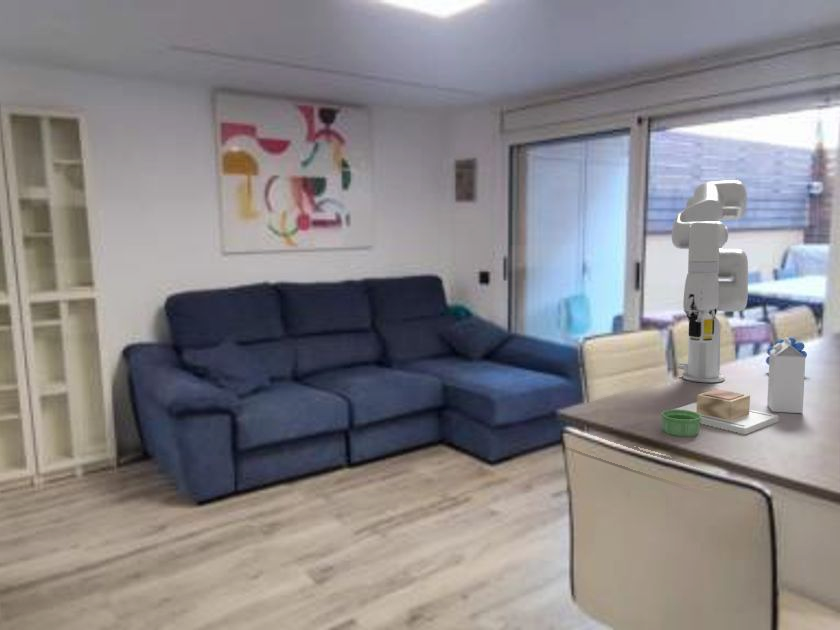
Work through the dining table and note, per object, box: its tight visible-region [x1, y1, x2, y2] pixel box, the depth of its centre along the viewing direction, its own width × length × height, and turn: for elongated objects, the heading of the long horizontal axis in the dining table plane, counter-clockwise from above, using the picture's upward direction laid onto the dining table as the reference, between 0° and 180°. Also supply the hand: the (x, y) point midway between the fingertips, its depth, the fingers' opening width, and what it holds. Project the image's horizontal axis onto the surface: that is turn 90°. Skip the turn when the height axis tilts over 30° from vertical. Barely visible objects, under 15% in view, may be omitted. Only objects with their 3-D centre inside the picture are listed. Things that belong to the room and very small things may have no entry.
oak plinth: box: [696, 388, 751, 420], centre depth 163 cm, size 9×9×5 cm
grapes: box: [765, 337, 808, 366], centre depth 211 cm, size 12×7×12 cm, turn 60°
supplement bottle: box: [690, 308, 713, 343], centre depth 173 cm, size 5×5×10 cm
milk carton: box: [767, 336, 806, 414], centre depth 169 cm, size 7×7×19 cm
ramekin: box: [660, 408, 702, 437], centre depth 154 cm, size 9×9×4 cm
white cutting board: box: [675, 401, 779, 435], centre depth 163 cm, size 20×16×2 cm
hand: (701, 334), depth 173 cm, fingers closed on supplement bottle, 5 cm apart
